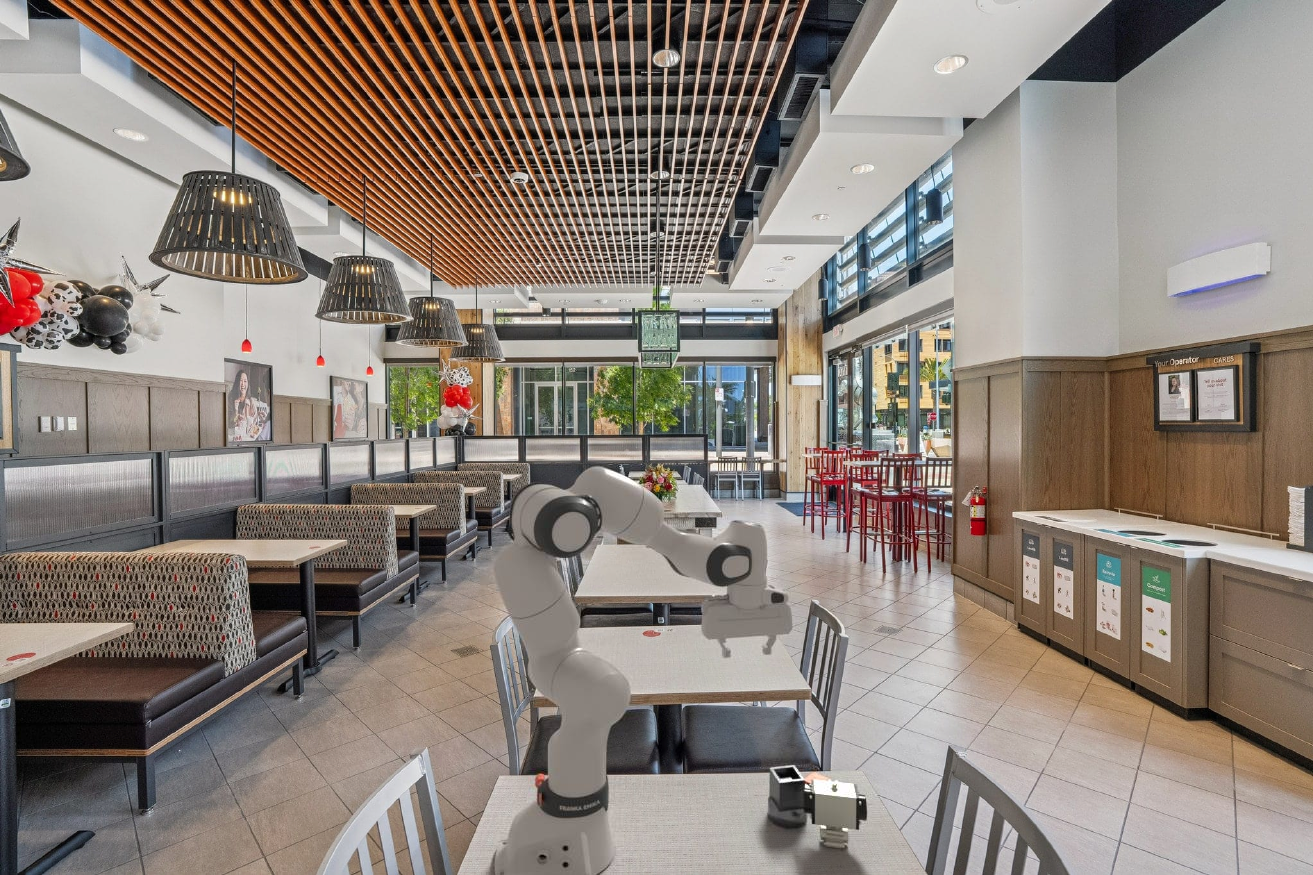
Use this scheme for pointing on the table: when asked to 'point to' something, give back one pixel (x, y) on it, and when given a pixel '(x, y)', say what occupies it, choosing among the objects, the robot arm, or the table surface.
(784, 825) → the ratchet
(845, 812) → the pneumatic valve
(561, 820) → the robot arm
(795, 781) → the open square container
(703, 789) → the table surface
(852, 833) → the table surface
